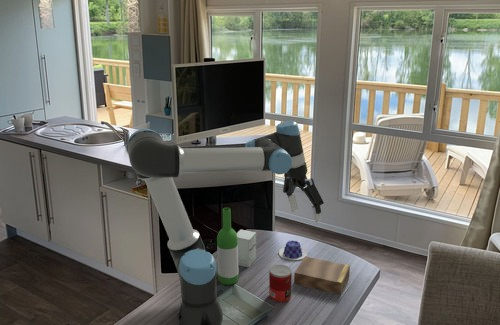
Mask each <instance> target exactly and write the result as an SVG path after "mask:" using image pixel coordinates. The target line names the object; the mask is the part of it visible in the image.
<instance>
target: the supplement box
mask: <svg viewBox="0 0 500 325" xmlns="http://www.w3.org/2000/svg"><path fill="white" fill-rule="evenodd" d="M236 233H237V237H238V266H240V267H245V268H250V267H251V265H252V264H253V263H254V262H255V261H256V260H257V232H256V231H251V230H244V229H239V230H238V231H237V232H236Z"/></svg>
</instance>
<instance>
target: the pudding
mask: <svg viewBox="0 0 500 325" xmlns="http://www.w3.org/2000/svg"><path fill="white" fill-rule="evenodd" d="M278 255H279V256H280V257H281V258H283V259H286V260H290V261H299V260H303V259H304V257H305V256H306V257H308V252H307V250H306V249H305V248H303V247H302V246H301V243H300V242H299V241H298V240H288V241H287V242H286V243H285V245H284V247H281V248H280V249H279V250H278Z"/></svg>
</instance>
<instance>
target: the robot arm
mask: <svg viewBox="0 0 500 325" xmlns="http://www.w3.org/2000/svg"><path fill="white" fill-rule="evenodd" d="M275 128H276V129H275V130H276V131H275V132H272V133H269V134H266V135H262V136H261V137H257V138H254V139H251V140H249V141H247V142H245V146H244V147H242V146H241V147H191V148H190V147H189V148H188V147H186V148H182V147H181V146H179V144H166V143H164V139H163V137H162V136H161V135H160V134H159V133H158V132H157V131H155V130H153V129H150V128H141V129H139V130H136V131H134V132H133V133H131V135H130V136H129V138H128V140H127V143H126V152H127V155H128V159H129V163H130V166H131V168H132V169H133V170H134V172H135V173H136V176H137V178H138V179H140V180H142V181H144V182H145V184H146V186H147V190H148V192H149V194H150V196H151V198H152V201H153V203H154V205H155V209H156V211H157V212H158V215H159V217H160V219H161V222H162V224H163V227H164V229H165V231H166V232H165V233H166V234H167V237H168V239H169V240H167V248H168V251H169V252H170V255H171V257H172V259H173V262H174V265H175V269H176V270H177V274H178V277H179V282H180V294H181V302H180V306H179V309H178V312H177V324H178V325H221V324H222V323H223V320H224V317H223V316H224V313H223V308H222V307H221V305H220V302H219V300H218V292H217V291H218V289H217V263H216V259H215V257H214V255H213V254H211V253H210V252H209V251H207V250H206V247H205V244H204V242H203V239H202V237H201V235H200V232H199V231H198V230H197V229H193V226H192V223H191V221H190V218H189V216H188V212H187V211H186V208H185V205H184V203H183V201H182V199H181V195H180V194H179V191H178V188H177V186H176V183H175V181H174V178H179V177H180V176H181V175H184V174H206V173H207V174H211V173H213V174H214V173H236V172H237V173H238V172H239V173H240V172H242V173H243V172H268V171H271V173H274V174H276V175H283V177H284V181H283V186H282V188H283V189H282V192H283V194H286V196H287V198H288V202H289V205H290V209H291V212H292V213H293V212H295V211H296V210H299V205H298V201H297V197H296V193H295V190H296V188H298V189H299V190H301V191H302V192H304V194H305V195H306V196H307V198H308V200H309V201H310V203H311V204H312V206H311V207H312V212H313V216H314V221H315V223H318V222H319V221H321V220H323V217H322V208H321V206H322V205H324V204H325V202H324V200H323V198H322V196H321V194H320V192H319V191H318V188H317V187H316V183H315V181H314V179H313V178H312V177H311V178H307V174H308V166H307V162H306V158H305V153H304V147H303V142H302V137H301V132H300V129H299V128H300V127H299V125H298V122H296V121H293V120H285V121H281V122H280V123H278V124H277V125H276V126H275Z"/></svg>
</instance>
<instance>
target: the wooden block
mask: <svg viewBox="0 0 500 325" xmlns="http://www.w3.org/2000/svg"><path fill="white" fill-rule="evenodd" d="M350 271H351V265H350V264H346V263H345V264H343V263H339V262H333V261H329V260H324V259H319V258H314V257H310V256H305V257H304V258H303V259H301V262H300V263H299V265H298V267H296V269H295V271H294V273H293V274H294V275H293V277H294V279H293V281H294V282H293V285H296V286H300V287H301V286H302V287H305V288H309V289H314V290H318V291H322V292H326V293H330V294H335V295H338V296H342V294H343V292H344V290H345V287H346V286H347V284H348V281H349V279H350V273H351V272H350Z"/></svg>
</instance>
